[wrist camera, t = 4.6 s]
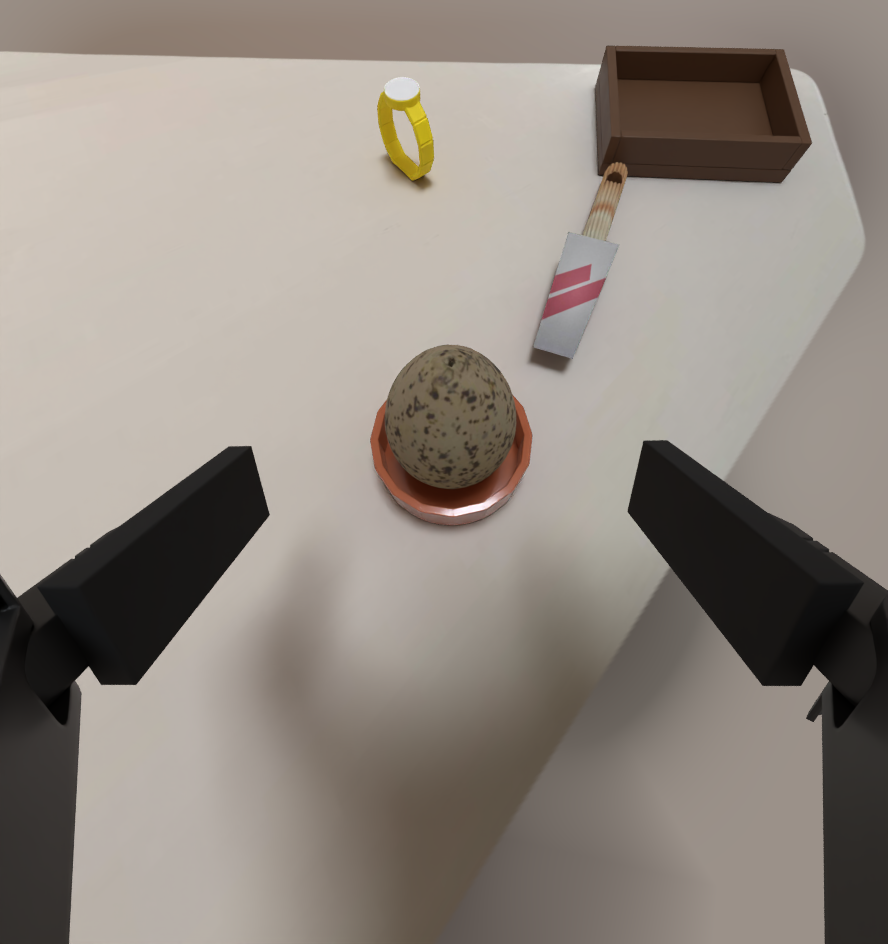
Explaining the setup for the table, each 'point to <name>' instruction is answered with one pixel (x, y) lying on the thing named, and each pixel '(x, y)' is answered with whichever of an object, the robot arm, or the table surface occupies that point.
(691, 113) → the tray
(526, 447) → the shallow dish
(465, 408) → the decorative egg
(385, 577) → the table surface
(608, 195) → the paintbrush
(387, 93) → the watch
